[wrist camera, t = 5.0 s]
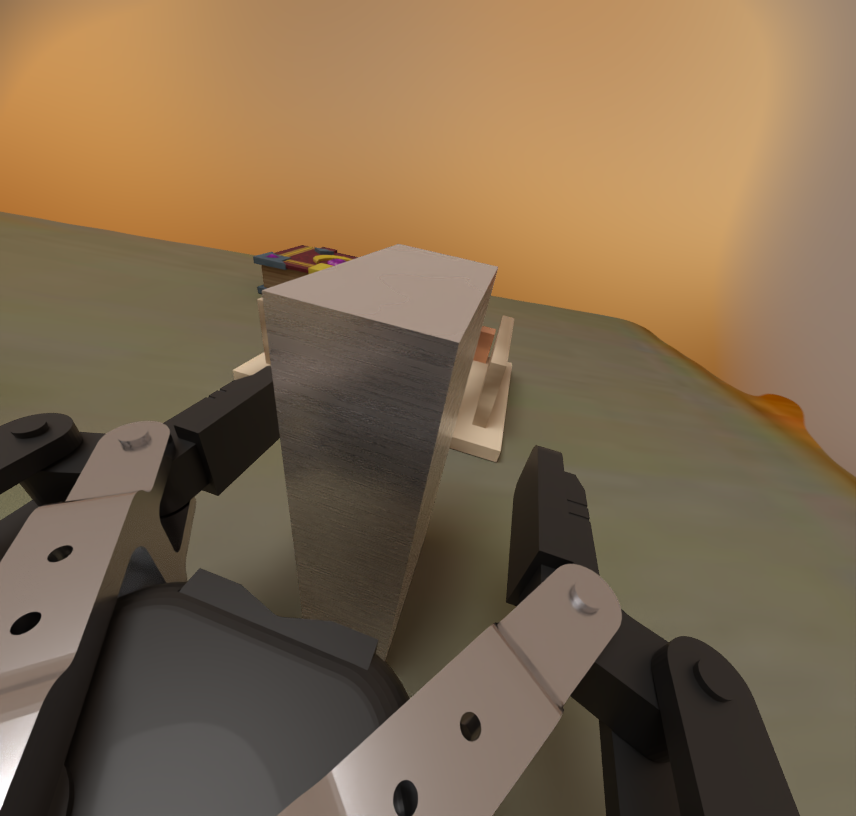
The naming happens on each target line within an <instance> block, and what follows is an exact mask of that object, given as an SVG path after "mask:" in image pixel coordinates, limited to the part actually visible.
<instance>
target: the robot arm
mask: <svg viewBox="0 0 856 816" xmlns="http://www.w3.org/2000/svg"><path fill="white" fill-rule="evenodd" d="M279 438H280V433H279V425H278V417H277V409H276V401H275V393H274V385H273V377H272V369H271V365H269V366H266V367H264V368H263V369H261V370H260V371H258V372H257V373H255V374H253V375H250V376H246V377H243V378H240V379H237V380H234V381H232V382H230V383H229V384H227V385H225V386H224V387H222V388H220V391H218V390H217V391H216V392H214V393H212V394H211V395H209V397H208V398H207V397H206V398H204V399H202V400H201V401H199V402H197V403H196V404H194V405H192V406H191V407H189V408H188V409H186V410H184V411H183V412H181V413H179V414H178V415H176V416H174V417H173V418H171V419H169V420H168V421H166V422H164V423H160V422H155V421H140V422H134V423H129V424H126V425H123V426H120V427H118V428H115V429H113V430H112V431H110V432H108V433H107V434H102V433H87V432H79V430H78V429H77V427H76V425H75V424H74V422H73V420H72V419H71V418H70V417H69V416H67V415H64V414H58V413H44V414H36V415H31V416H27V417H23V418H19V419H16V420H14V421H11V422H9V423H6V424H4V425H2V426H0V494H2V493H3V492H5V491H7V490H8V489H10V488H12V487H14V486H15V485H17V484H19V483H20V485H21V486H22V487H23V488H24V489H25V491H26V492H27V493H28V494H29V496H30V497H31V498H32V499H33V500H32V501H30V502H29V503H27V504H25V505H24V506H22V507H21V508H19V509H18V510H16V511H15V512H13V513H11V514H10V515H8V516H7V517H5V518H4V519H2V520H1V521H0V816H492V815H493V814H494V812H495V811H496V810H497V808H498V807H499V805H500V804H501V802H502V801H503V800H504V798H505V797H506V795H507V794H508V793H509V791H510V790H511V788H512V787H513V786H514V784H515V783H516V781H517V780H518V779H519V777H520V776H521V774H522V773H523V771H524V770H525V769H526V767H527V766H528V764H529V763H530V762H531V760H532V759H533V757H534V756H535V755H536V753H537V752H538V750H539V749H540V748H541V746H542V745H543V743H544V742H545V740H546V739H547V738H548V736H549V735H550V733H551V732H552V731H553V729H554V728H555V726H556V725H557V723H558V722H559V720H560V718H561V716H562V714H563V712H564V709H563V706H564V704H565V702H566V701H567V699H568V698H569V696H571V697H572V698H573V699H575V700H576V701H577V702H578V703H580V704H581V705H582V706H583V707H585V708H586V709H587V710H588V711H589V712H591V713H592V714H593V715H594V716H596V717H597V718H598V719H599V727H600V740H601V753H602V767H603V780H604V793H605V806H606V816H800V815H799V812H798V810H797V807H796V804H795V802H794V799H793V797H792V794H791V792H790V789H789V787H788V784H787V781H786V779H785V776H784V774H783V771H782V769H781V766H780V764H779V761H778V759H777V756H776V753H775V751H774V748H773V746H772V743H771V741H770V738H769V736H768V733H767V731H766V728H765V725H764V723H763V720H762V718H761V715H760V713H759V710H758V708H757V705H756V702H755V700H754V698H753V696H752V693H751V691H750V690H749V688H748V686H747V684H746V683H745V681H744V680H743V678H742V677H741V675H740V674H739V673H738V672H737V670H736V669H735V668H734V667H733V666H732V665H731V664H730V663H729V662H728V660H727V659H725V658H724V657H723V656H722V655H721V654H720V653H719V652H717V651H716V650H715V649H713V648H712V647H711V646H709V645H707V644H706V643H704V642H702V641H700V640H698V639H695V638H692V637H687V636H680V637H677V638H674V639H673V640H672V641H670V642H667V641H666V640H664V639H663V638H661V637H660V636H658V635H657V634H655V633H654V632H652V631H651V630H649V629H648V628H646V627H645V626H643V625H642V624H640V623H639V622H637V621H636V620H634V619H633V618H632V617H630V616H629V615H627V614H626V613H625V612H624V611H623V610H622V609H621V607H620V604H619V601H618V599H617V597H616V595H615V594H614V592H613V590H612V589H611V588H610V586H609V585H608V584H607V583H606V582H605V581H604V580H603V579H602V578H601V577H600V575H599V570H598V564H597V559H596V553H595V547H594V541H593V535H592V529H591V523H590V522H589V519H590V518H589V512H588V509H587V500H586V494H585V490H584V488H583V487H582V485H581V483H580V482H579V480H578V478H577V477H576V475H574V474H571V473H568V472H564V466H563V456H562V453H561V452H557V451H554V450H551V449H547V448H544V447H541V446H537V445H536V446H535V447H534V448H533V450H532V452H531V454H530V456H529V458H528V460H527V462H526V465H525V467H524V469H523V471H522V473H521V475H520V477H519V480H518V482H517V485H516V488H515V493H514V498H513V511H512V525H511V539H510V553H509V567H508V582H507V596H506V603H509V604H512V605H514V606H517V607H516V608H515V609H513V610H512V611H511V612H510V613H509V614H508V615H507V616H506V617H505V618H504V619H503V620H501V621H500V622H499V623H494V624H492V625H491V626H489V627H488V628H487V629H486V630H485V631H483V632H482V633H481V634H480V635H479V636H478V637H477V638H476V639H475V640H474V641H472V642H471V643H470V644H469V645H468V646H467V647H466V648H465V649H464V650H463V651H462V652H460V653H459V654H458V655H457V656H456V657H455V658H454V659H453V660H452V661H451V662H450V663H448V664H447V665H446V666H445V667H444V668H443V669H442V670H441V671H440V672H439V673H438V674H436V675H435V676H434V677H433V678H432V679H431V680H430V681H429V682H428V683H427V684H425V685H424V686H423V687H422V688H421V689H420V690H419V691H418V692H417V693H416V694H415V695H413V696H412V697H411V698H409V696H408V694H407V692H406V690H405V688H404V686H403V685H402V683H401V681H400V680H399V678H398V677H397V676H396V674H395V673H394V671H393V670H392V669H391V668H390V667H389V666H388V664H387V663H386V662H385V661H384V660H382V659H381V658H380V657H379V656H378V655H377V654H376V651H377V646H378V639H375V638H373V637H370V636H368V635H365V634H363V633H360V632H358V631H355V630H353V629H350V628H348V627H345V626H343V625H340V624H338V623H335V622H333V621H324V620H312V619H300V618H287V617H279V616H277V615H275V614H274V613H272V612H271V611H270V610H269V609H268V608H267V607H266V606H264V605H263V604H262V603H261V602H260V601H259V600H258V599H257V598H256V597H254V596H253V595H252V594H251V593H250V592H249V591H248V590H247V589H245V588H244V587H243V586H242V585H241V584H238V583H236V582H233V581H231V580H228V579H226V578H223V577H221V576H218V575H216V574H213V573H211V572H208V571H206V570H203V569H201V568H200V569H199V570H198V571H197V572H196V573H195V574H194V575H193V576H192V577H191V578H190V580H189V581H187V573H186V556H187V551H188V545H189V540H190V535H191V529H192V524H193V518H194V513H195V508H196V499H195V496H196V495H197V494H198V493H199V492H200V491H201V490H203V491H206V492H209V493H211V494H214V495H217V496H219V495H220V494H221V493H222V492H223V491H224V490H225V489H226V488H227V487H228V486H229V485H230V484H231V483H232V482H233V481H234V480H236V479H237V478H238V477H239V476H240V475H241V474H242V473H243V472H244V471H245V470H246V469H247V468H248V467H249V466H250V465H251V464H253V463H254V462H255V461H256V460H257V459H258V458H259V457H260V456H261V455H262V454H263V453H264V452H265V451H266V450H267V449H268V448H270V447H271V446H272V445H273V444H274V443H275V442H276V441H277V440H278V439H279Z"/></svg>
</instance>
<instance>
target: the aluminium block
mask: <svg viewBox="0 0 856 816" xmlns="http://www.w3.org/2000/svg"><path fill="white" fill-rule="evenodd" d="M497 270H498V267H497V266H492V265H488V264H484V263H479V262H475V261H470V260H466V259H462V258H458V257H453V256H449V255H444V254H440V253H436V252H432V251H427V250H423V249H419V248H414V247H410V246H405V245H401V244H397V245H394V246H391V247H388V248H385V249H382V250H379V251H376V252H374V253H371V254H368V255H365V256H362V257H359V258H356V259H353V260H350V261H347V262H344V263H341V264H338V265H335V266H332V267H329V268H326V269H323V270H320V271H317V272H314V273H311V274H308V275H306V276H303V277H300V278H297V279H294V280H291V281H288V282H285V283H282V284H279V285H276V286H273V287H270V288H267V289H264V290H262V298H263V306H264V314H265V322H266V330H267V337H268V345H269V353H270V361H271V369H272V377H273V385H274V393H275V401H276V409H277V417H278V425H279V433H280V441H281V449H282V457H283V465H284V473H285V481H286V489H287V497H288V505H289V513H290V521H291V529H292V537H293V544H294V552H295V560H296V568H297V576H298V584H299V592H300V600H301V608H302V616H303V619H312V620H324V621H333V622H335V623H338V624H340V625H343V626H345V627H348V628H350V629H353V630H355V631H358V632H360V633H363V634H365V635H368V636H370V637H373V638H375V639H378V646H377V651H376V654H377V655H378V656H379V657H380V658H381V659H382V660H384V661H386V658H387V655H388V651H389V648H390V645H391V642H392V639H393V636H394V633H395V630H396V626H397V623H398V620H399V617H400V614H401V611H402V608H403V605H404V601H405V598H406V595H407V592H408V589H409V586H410V583H411V580H412V576H413V573H414V570H415V567H416V564H417V561H418V558H419V555H420V552H421V548H422V545H423V542H424V539H425V536H426V532H427V529H428V525H429V521H430V518H431V514H432V510H433V506H434V503H435V499H436V495H437V492H438V488H439V484H440V481H441V477H442V473H443V469H444V466H445V462H446V458H447V455H448V451H449V447H450V444H451V440H452V436H453V432H454V429H455V425H456V421H457V418H458V414H459V410H460V407H461V403H462V399H463V395H464V392H465V388H466V384H467V381H468V377H469V373H470V370H471V366H472V362H473V359H474V355H475V351H476V347H477V344H478V340H479V336H480V333H481V329H482V325H483V322H484V318H485V314H486V310H487V307H488V303H489V299H490V296H491V292H492V288H493V284H494V281H495V277H496V273H497Z"/></svg>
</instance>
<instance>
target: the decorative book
mask: <svg viewBox="0 0 856 816" xmlns="http://www.w3.org/2000/svg"><path fill="white" fill-rule="evenodd" d="M356 258H358V257H354V256H350V255H345V254H341V253H337V250H335V249H330V248H325V247H322V248H313V247H308V246H304V245H301V246H298V247H294V248H290V249H287V250H283V251H280V252H276V253H273V252H269V253H265V254H262V255H257V256H253V259H254V263H256V264H260V265H262V273H263V282H264V285H261V286H259V287H257V289H258V293H260V294H262V290H264V289H267V288H270V287H273V286H276V285H279V284H282V283H285V282H288V281H291V280H294V279H297V278H300V277H303V276H306V275H308V274H311V273H314V272H317V271H320V270H323V269H326V268H329V267H332V266H335V265H338V264H341V263H344V262H347V261H350V260H353V259H356Z"/></svg>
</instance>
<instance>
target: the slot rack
mask: <svg viewBox="0 0 856 816" xmlns="http://www.w3.org/2000/svg"><path fill="white" fill-rule="evenodd" d="M257 301H258V308H259V316H260V323H261V330H262V338H263V345H264V352H263V353H262V354H260V355H258V356H256V357H255V358H253V359H251V360H249V361H248V362H246V363H244V364H242V365H241V366H239V367H237V368H235V369H234V370H233V374H234V379H235V380H237V379H240V378H243V377H246V376H250V375H253V374H255V373H257V372H258V371H260V370H261V369H263V368H264V367H266V366H269V365H271V361H270V353H269V345H268V337H267V330H266V322H265V314H264V306H263V298H259V299H257ZM513 324H514V318H511V317H507V316H503V318H502V321H501V324H500V327H499V331H498V334H497V337H496V341H495V344H494V347H493V351H492V354H491V357H488V355H489V351H490V348H491V344H492V341H493V338H494V334H495V331H496V329H492V328H488V327H484V326H482V329H481V333H480V336H479V340H478V344H477V347H476V351H475V355H474V359H473V362H472V366H471V370H470V373H469V377H468V381H467V384H466V388H465V392H464V395H463V399H462V403H461V407H460V410H459V414H458V418H457V421H456V425H455V429H454V432H453V436H452V440H451V444H450V447H449V448H451V449H455V450H458V451H461V452H464V453H468V454H471V455H474V456H477V457H480V458H484V459H487V460H490V461H493V462H497V459H498V457H499V454H500V452H501V444H502V437H503V429H504V421H505V414H506V406H507V399H508V391H509V383H510V376H511V368H512V363H508V362H507V361H508V355H509V349H510V343H511V336H512V330H513Z"/></svg>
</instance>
